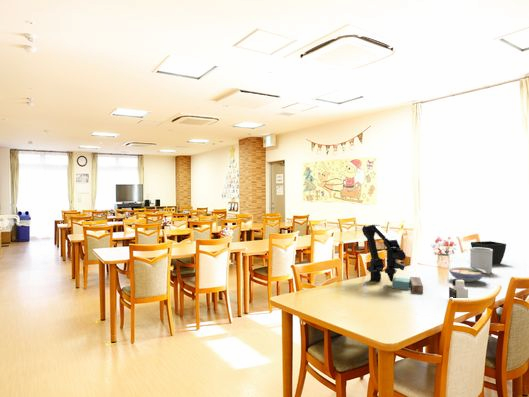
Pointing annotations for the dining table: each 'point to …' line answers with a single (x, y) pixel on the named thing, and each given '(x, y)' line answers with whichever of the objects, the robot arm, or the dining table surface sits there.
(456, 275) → the ramen bowl
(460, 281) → the medicine bottle
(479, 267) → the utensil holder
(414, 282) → the brown bar
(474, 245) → the flower pot
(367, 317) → the dining table surface
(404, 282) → the teal block
